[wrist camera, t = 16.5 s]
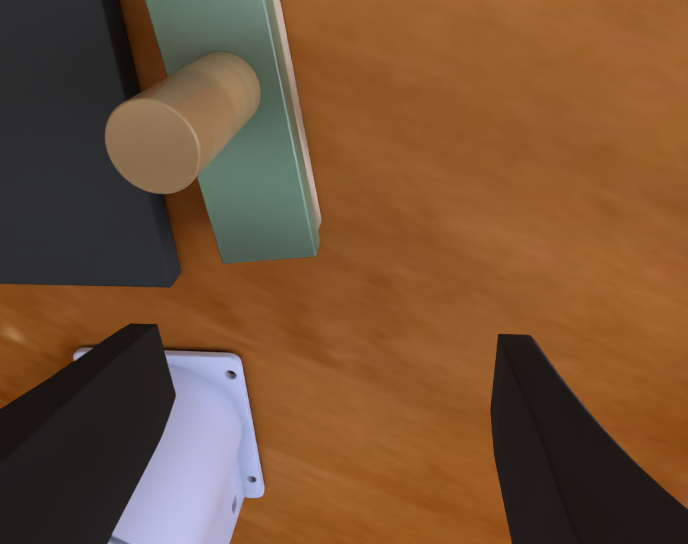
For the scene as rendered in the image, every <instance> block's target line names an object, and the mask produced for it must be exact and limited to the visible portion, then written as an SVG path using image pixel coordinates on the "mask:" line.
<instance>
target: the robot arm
mask: <svg viewBox="0 0 688 544" xmlns="http://www.w3.org/2000/svg"><path fill="white" fill-rule="evenodd" d="M73 359H74V361H73V362H72V363H70V364H69V365H68V366H66V367H65V368H63V369H62V370H60V371H59V372H57V373H56V374H54V375H53V376H51V377H50V378H49V379H47V380H46V381H44V382H42V383H41V384H39V385H38V386H36V387H35V388H33V389H31V390H30V391H28V392H27V393H25V394H23V395H22V396H20V397H19V398H17V399H16V400H14V401H12V402H11V403H9V404H8V405H6V406H5V407H3V408H1V409H0V544H230V540H231V537H232V534H233V531H234V528H235V525H236V522H237V518H238V515H239V512H240V509H241V506H242V503H243V499H244V497H249V498H259V497H261V496H262V495H263V493H264V489H265V486H264V481H263V475H262V470H261V464H260V459H259V454H258V448H257V443H256V437H255V432H254V426H253V421H252V415H251V410H250V405H249V399H248V394H247V388H246V383H245V377H244V372H243V366H242V361H241V359H240V358H239V357H238V356H237V355H235V354H233V353H223V352H196V351H169V350H164V348H163V344H162V341H161V337H160V333H159V330H158V326H157V324H129V325H127V326H126V327H124V328H122V329H121V330H119V331H117V332H116V333H114V334H113V335H111V336H110V337H108V338H107V339H105V340H104V341H102V342H101V343H100V344H98V345H97V346H95V347H94V348H87V347H83V348H79V349H78V350H77V351H76V352H75V353H74V355H73ZM229 370H230V371H233V372H234V373H235V374H233V373H230V372H229ZM491 423H492V435H493V447H494V457H495V462H496V467H497V472H498V477H499V482H500V487H501V492H502V497H503V502H504V507H505V511H506V516H507V521H508V526H509V531H510V536H511V541H512V544H688V509H687V508H686V507H684V506H683V505H682V504H681V503H679V502H678V501H677V500H676V499H675V498H674V497H673V496H671V495H670V494H669V493H668V492H667V491H666V490H664V489H663V488H662V487H661V486H660V485H659V484H658V483H657V482H656V481H655V480H654V479H653V478H651V477H650V476H649V475H648V474H647V473H646V472H645V471H644V470H643V469H642V468H641V467H640V466H639V465H638V464H637V463H636V462H635V461H634V460H633V459H632V458H631V457H630V456H629V455H628V454H627V453H626V452H625V451H624V450H623V449H622V448H621V447H620V446H619V445H618V444H617V443H616V442H615V440H614V439H613V438H612V437H611V436H610V435H609V434H608V433H607V432H606V431H605V430H604V429H603V427H602V426H601V425H600V424H599V423H598V422H597V421H596V419H595V418H594V417H593V416H592V415H591V414H590V412H589V411H588V410H587V409H586V408H585V406H584V405H583V404H582V403H581V402H580V400H579V399H578V398H577V397H576V395H575V394H574V393H573V392H572V391H571V389H570V388H569V387H568V385H567V384H566V383H565V382H564V380H563V379H562V378H561V376H560V375H559V374H558V372H557V371H556V370H555V368H554V367H553V365H552V364H551V363H550V361H549V360H548V359H547V357H546V356H545V354H544V353H543V351H542V350H541V348H540V347H539V346H538V344H537V343H536V341H535V340H534V339H533V338H532V337H531V336H530V335H515V334H498V342H497V351H496V361H495V371H494V380H493V390H492V400H491Z"/></svg>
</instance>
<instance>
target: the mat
mask: <svg viewBox="0 0 688 544" xmlns="http://www.w3.org/2000/svg"><path fill="white" fill-rule="evenodd" d="M139 93H140V91H139V87H138V83H137V78H136V74H135V69H134V65H133V61H132V56H131V52H130V48H129V43H128V39H127V35H126V30H125V26H124V21H123V17H122V13H121V8H120V4H119V0H0V284H40V285H86V286H133V287H171V286H172V285H173V283H174V282H175V280H176V279H177V278H178V276H179V275H180V273H181V270H180V266H179V261H178V257H177V253H176V248H175V244H174V239H173V235H172V231H171V226H170V222H169V218H168V213H167V209H166V205H165V200H164V196H163V194H156V193H151V192H147V191H145V190H142V189H140V188H138V187H136V186H134V185H133V184H131V183H130V182H129V181H127V180H126V179H125V178H124V177H123V176H122V175H121V174H120V173H119V172H118V171H117V169H116V168H115V166H114V165H113V163H112V161H111V160H110V157H109V155H108V152H107V149H106V144H105V128H106V124H107V121H108V118H109V116H110V115H111V113H112V112H113V111H114V109H115V108H116V107H118V106H119V105H120V104H122V103H123V102H125V101H127V100H128V99H130V98H132V97H134V96H135V95H137V94H139Z"/></svg>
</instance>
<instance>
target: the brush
mask: <svg viewBox="0 0 688 544" xmlns="http://www.w3.org/2000/svg"><path fill="white" fill-rule="evenodd" d="M145 3H146V6H147V9H148V13H149V16H150V20H151V23H152V26H153V30H154V33H155V37H156V40H157V43H158V47H159V50H160V53H161V57H162V60H163V64H164V67H165V70H166V74H167V78H165V79H163V80H161V81H160V82H158V83H156V84H154V85H153V86H151V87H149V88H147V89H146V90H144V91H142V92H141V93H139V94H137V95H135V96H134V97H132V98H130V99H128V100H127V101H125V102H123V103H122V104H120V105H119V106H118V107H116V108H115V109H114V111H113V112H112V113H111V115H110V116H109V118H108V121H107V124H106V128H105V144H106V149H107V152H108V155H109V157H110V160H111V161H112V163H113V165H114V166H115V168H116V169H117V171H118V172H119V173H120V174H121V175H122V176H123V177H124V178H125V179H126V180H127V181H129V182H130V183H131V184H133V185H134V186H136V187H138V188H140V189H142V190H145V191H147V192H151V193H156V194H170V193H175V192H178V191H180V190H182V189H184V188H186V187H187V186H189V185H190V184H191V183H192V182H193V181H194V179H195V178H196V177H197V179H198V182H199V185H200V189H201V192H202V196H203V199H204V202H205V206H206V209H207V213H208V216H209V219H210V223H211V226H212V229H213V233H214V236H215V240H216V243H217V246H218V250H219V253H220V257H221V260H222V263H238V262H251V261H264V260H277V259H290V258H303V257H314V256H316V255H317V252H318V248H319V245H320V239H319V234H318V230H319V227H320V224H321V221H322V220H321V215H320V209H319V204H318V199H317V193H316V188H315V183H314V177H313V172H312V167H311V162H310V156H309V151H308V146H307V140H306V135H305V130H304V124H303V119H302V114H301V109H300V103H299V98H298V93H297V87H296V82H295V77H294V72H293V66H292V61H291V56H290V50H289V45H288V40H287V34H286V29H285V24H284V19H283V13H282V8H281V3H280V0H145Z"/></svg>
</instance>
